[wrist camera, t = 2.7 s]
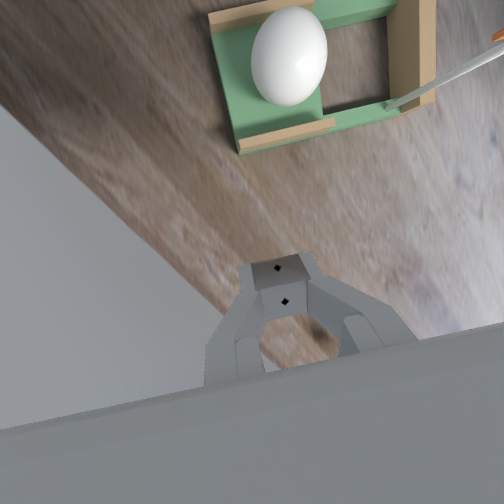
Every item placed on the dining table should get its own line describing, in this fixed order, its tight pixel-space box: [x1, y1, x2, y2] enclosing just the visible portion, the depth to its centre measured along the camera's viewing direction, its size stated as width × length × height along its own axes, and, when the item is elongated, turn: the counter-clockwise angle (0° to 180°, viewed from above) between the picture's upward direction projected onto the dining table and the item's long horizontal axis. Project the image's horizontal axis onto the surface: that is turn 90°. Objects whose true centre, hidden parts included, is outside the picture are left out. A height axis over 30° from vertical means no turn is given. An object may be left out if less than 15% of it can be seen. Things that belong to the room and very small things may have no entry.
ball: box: [251, 6, 327, 107], centre depth 23 cm, size 8×8×8 cm
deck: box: [208, 0, 504, 155], centre depth 20 cm, size 25×14×20 cm, turn 104°
